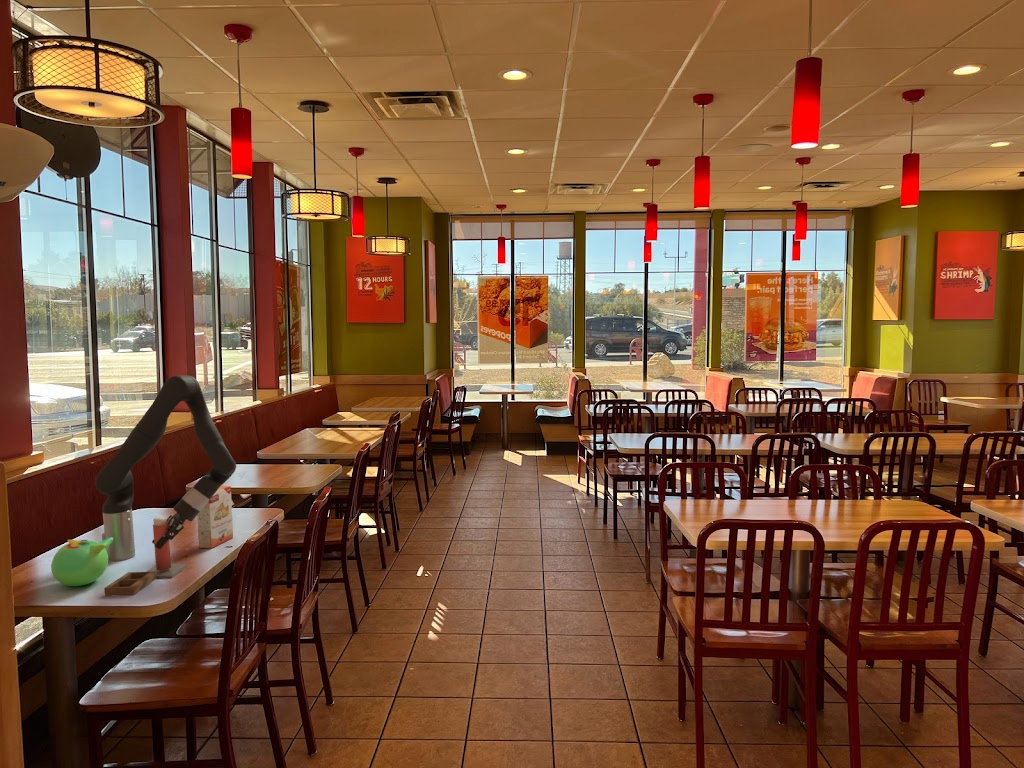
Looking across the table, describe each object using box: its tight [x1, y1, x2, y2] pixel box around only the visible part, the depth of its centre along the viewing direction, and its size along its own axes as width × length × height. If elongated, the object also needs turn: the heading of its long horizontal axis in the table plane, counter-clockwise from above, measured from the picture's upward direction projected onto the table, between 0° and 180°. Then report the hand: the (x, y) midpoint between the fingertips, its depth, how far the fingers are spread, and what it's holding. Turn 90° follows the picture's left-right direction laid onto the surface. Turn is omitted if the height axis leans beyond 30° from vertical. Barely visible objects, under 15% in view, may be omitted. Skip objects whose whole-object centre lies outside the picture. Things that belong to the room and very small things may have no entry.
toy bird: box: [50, 537, 113, 587], centre depth 230 cm, size 18×17×15 cm
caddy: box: [103, 571, 157, 597], centre depth 225 cm, size 14×9×2 cm, turn 1°
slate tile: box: [145, 563, 188, 579], centre depth 239 cm, size 11×11×1 cm
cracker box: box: [196, 485, 234, 549], centre depth 270 cm, size 14×6×21 cm, turn 168°
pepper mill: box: [152, 516, 172, 570], centre depth 238 cm, size 5×5×17 cm
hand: (155, 545), depth 237 cm, fingers closed on pepper mill, 4 cm apart
